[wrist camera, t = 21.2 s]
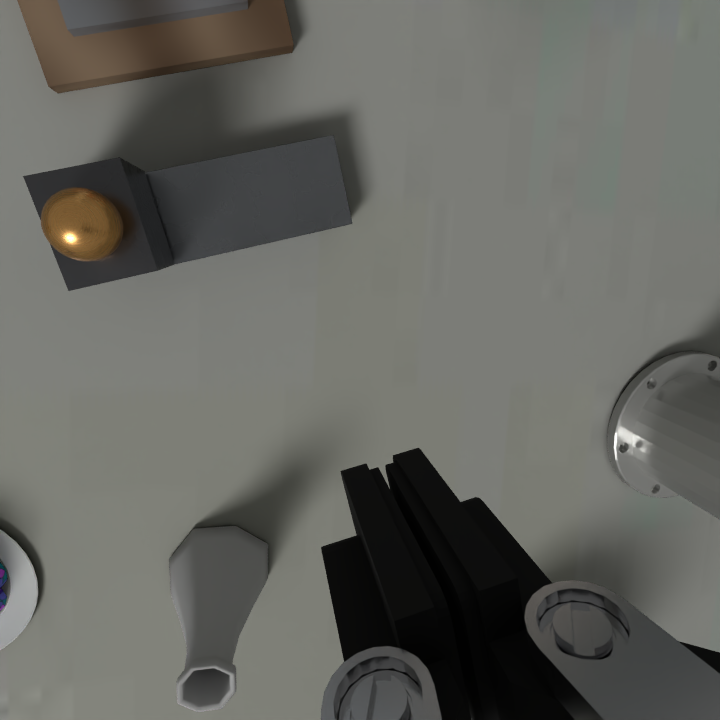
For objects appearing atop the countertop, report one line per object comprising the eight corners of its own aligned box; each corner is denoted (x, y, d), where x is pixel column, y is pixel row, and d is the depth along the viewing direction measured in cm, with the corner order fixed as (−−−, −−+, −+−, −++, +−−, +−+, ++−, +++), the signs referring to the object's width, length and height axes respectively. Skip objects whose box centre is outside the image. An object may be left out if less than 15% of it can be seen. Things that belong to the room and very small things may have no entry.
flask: (184, 512, 33) (156, 622, 24) (283, 533, 35) (293, 642, 26) (154, 599, 35) (116, 736, 25) (252, 615, 37) (250, 747, 27)
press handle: (144, 171, 26) (99, 146, 18) (174, 264, 27) (144, 275, 20) (66, 187, 25) (-12, 167, 18) (101, 280, 26) (42, 298, 19)
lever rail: (328, 141, 29) (333, 134, 27) (346, 224, 31) (352, 223, 29) (74, 192, 27) (59, 189, 25) (105, 279, 29) (94, 282, 27)
